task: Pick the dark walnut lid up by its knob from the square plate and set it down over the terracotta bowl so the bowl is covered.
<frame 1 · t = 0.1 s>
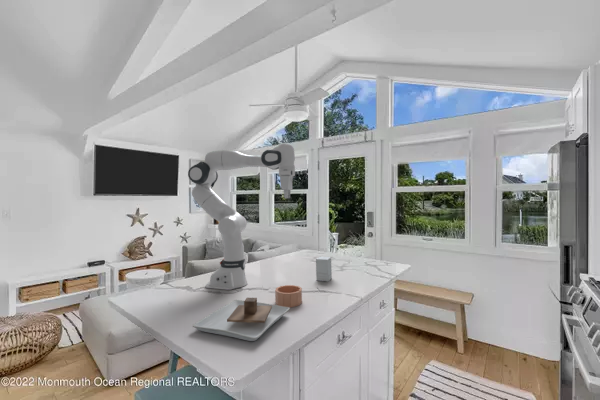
hand: (287, 198, 156), 48 cm above the kitchen island, fingers open, 8 cm apart
terracotta bowl: (288, 302, 131), on the kitchen island
square plate: (244, 325, 110), on the kitchen island, touching walnut lid
walnut lid: (250, 314, 110), point 3 cm above the kitchen island, touching square plate
supplement box: (324, 279, 166), on the kitchen island
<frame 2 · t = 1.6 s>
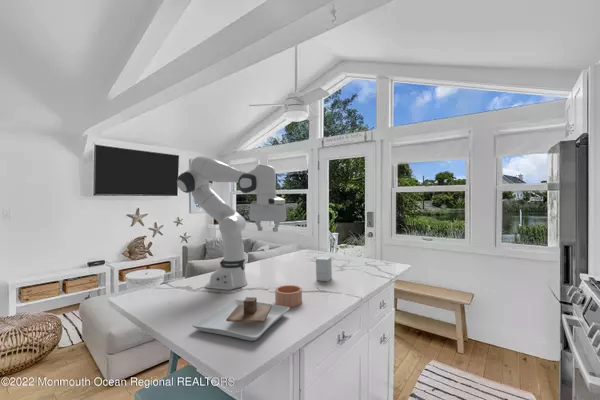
hand: (267, 231, 128), 33 cm above the kitchen island, fingers open, 8 cm apart
nothing on the kitchen island moved.
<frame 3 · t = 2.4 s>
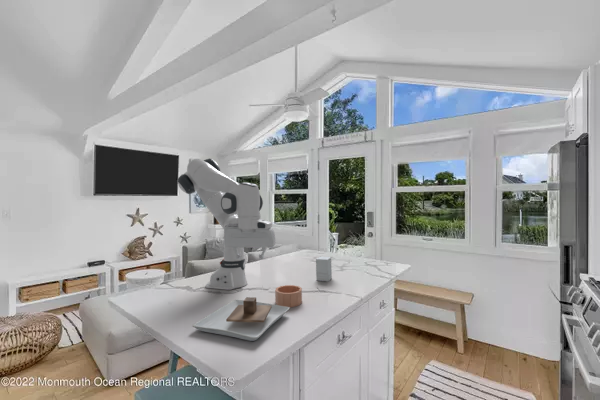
hand: (249, 258, 112), 24 cm above the kitchen island, fingers open, 8 cm apart
nothing on the kitchen island moved.
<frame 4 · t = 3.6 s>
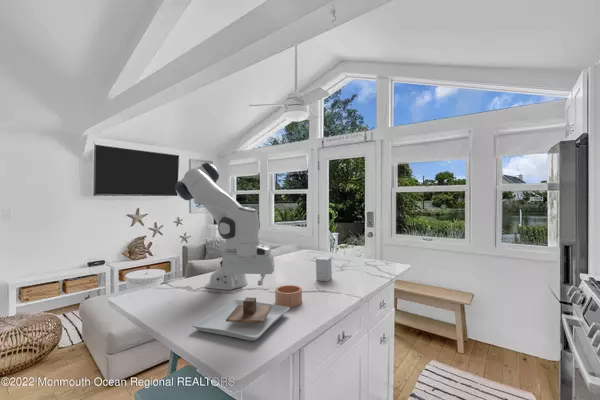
hand: (248, 284, 110), 15 cm above the kitchen island, fingers open, 8 cm apart
nothing on the kitchen island moved.
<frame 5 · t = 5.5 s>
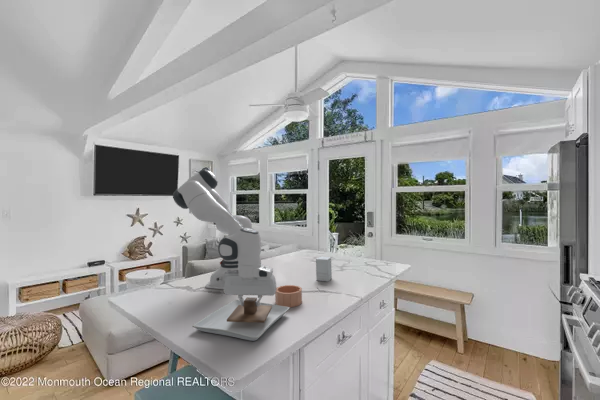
hand: (250, 305, 110), 6 cm above the kitchen island, fingers closed on walnut lid, 4 cm apart
walnut lid: (250, 314, 110), point 3 cm above the kitchen island, touching gripper, square plate
everything else where it was.
when the fingers open (10 cm above the kitchen island, at t = 12.3 s): walnut lid stays where it is, resting on terracotta bowl.
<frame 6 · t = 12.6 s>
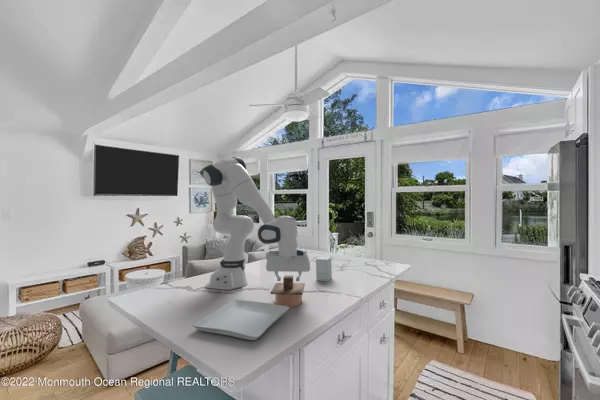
hand: (288, 280, 131), 10 cm above the kitchen island, fingers open, 7 cm apart
square plate: (244, 324, 110), on the kitchen island
walnut lid: (288, 289, 131), point 6 cm above the kitchen island, touching terracotta bowl
everything else where it was.
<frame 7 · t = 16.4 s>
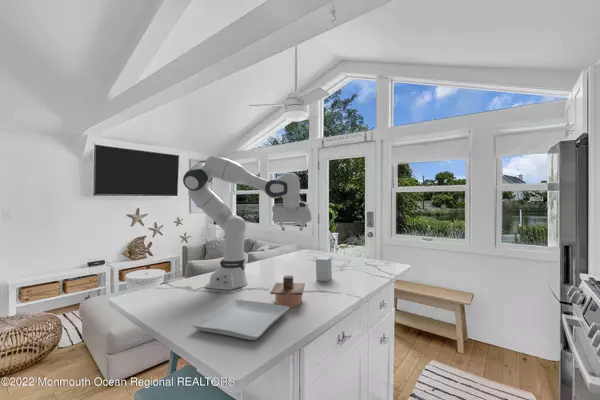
hand: (292, 230, 148), 31 cm above the kitchen island, fingers open, 8 cm apart
nothing on the kitchen island moved.
at the end: walnut lid 0.1 cm off-centre on the terracotta bowl, point 6.0 cm above the terracotta bowl's base; walnut lid touching terracotta bowl; the gripper is holding nothing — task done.
